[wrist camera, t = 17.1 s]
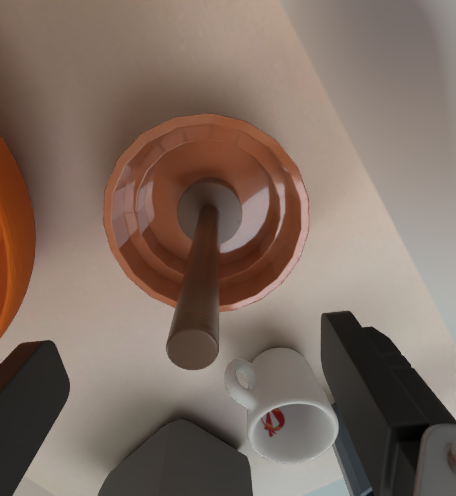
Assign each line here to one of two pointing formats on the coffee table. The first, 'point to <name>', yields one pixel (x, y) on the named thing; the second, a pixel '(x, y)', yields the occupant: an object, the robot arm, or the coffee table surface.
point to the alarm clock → (181, 466)
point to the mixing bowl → (172, 188)
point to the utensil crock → (350, 461)
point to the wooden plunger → (202, 271)
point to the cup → (283, 406)
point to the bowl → (14, 238)
